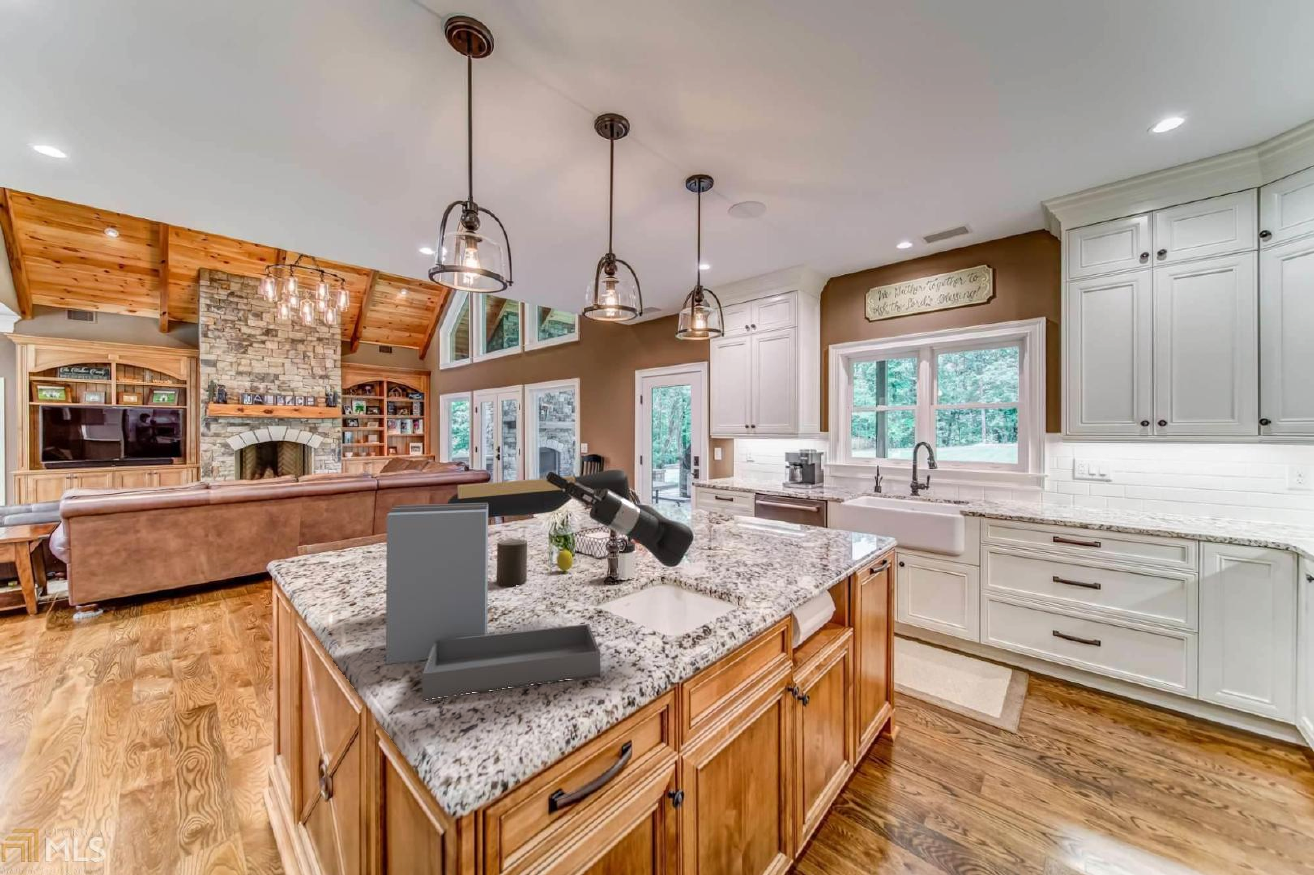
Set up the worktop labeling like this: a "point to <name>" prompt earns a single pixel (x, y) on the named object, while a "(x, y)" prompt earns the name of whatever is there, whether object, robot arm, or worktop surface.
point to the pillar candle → (511, 562)
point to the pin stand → (435, 577)
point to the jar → (627, 561)
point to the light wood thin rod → (507, 487)
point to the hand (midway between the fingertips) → (548, 475)
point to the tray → (509, 660)
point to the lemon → (564, 560)
